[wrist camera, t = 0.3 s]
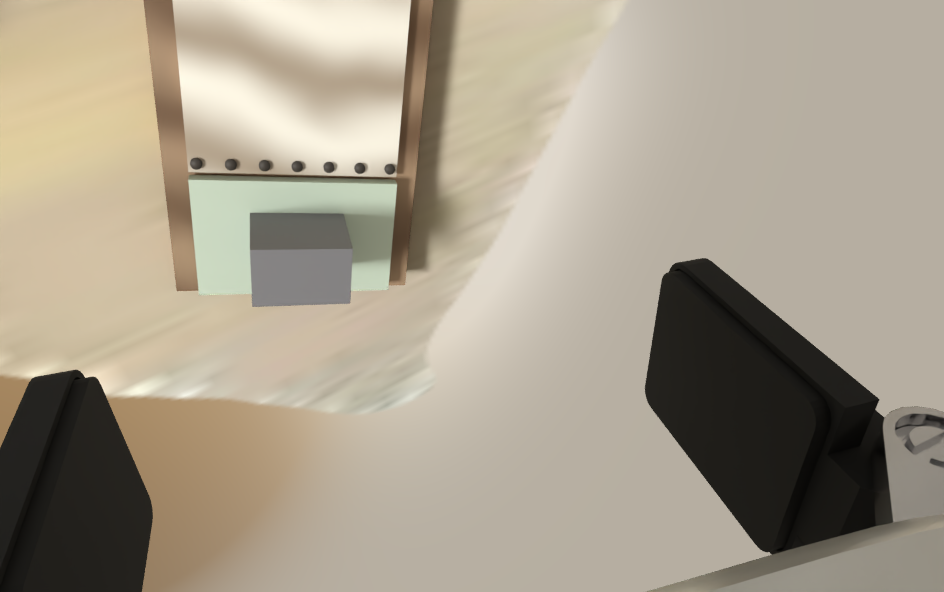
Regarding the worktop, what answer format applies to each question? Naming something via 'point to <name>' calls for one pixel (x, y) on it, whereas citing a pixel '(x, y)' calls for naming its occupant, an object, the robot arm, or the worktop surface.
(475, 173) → the worktop surface
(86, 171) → the worktop surface
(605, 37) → the worktop surface
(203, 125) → the ticket board
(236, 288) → the stub
